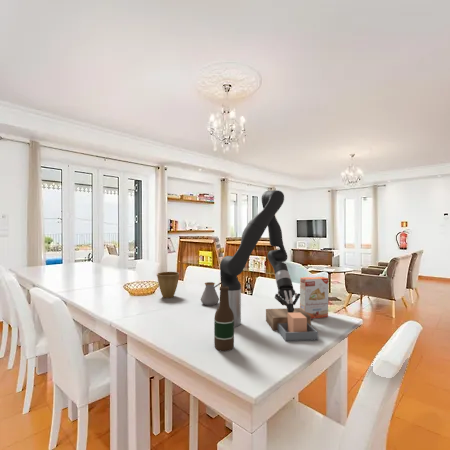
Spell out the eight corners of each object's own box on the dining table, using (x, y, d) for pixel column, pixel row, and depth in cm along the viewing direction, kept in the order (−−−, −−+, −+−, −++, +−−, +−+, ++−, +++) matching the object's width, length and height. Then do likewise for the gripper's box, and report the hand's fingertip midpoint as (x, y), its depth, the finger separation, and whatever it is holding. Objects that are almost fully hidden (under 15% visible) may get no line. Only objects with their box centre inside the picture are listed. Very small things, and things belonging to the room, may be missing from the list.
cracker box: (305, 319, 147) (305, 279, 147) (299, 316, 152) (299, 277, 153) (329, 317, 150) (328, 277, 151) (322, 314, 156) (322, 276, 156)
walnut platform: (273, 330, 131) (273, 317, 131) (265, 320, 145) (265, 309, 145) (310, 329, 133) (310, 316, 133) (300, 319, 147) (300, 308, 147)
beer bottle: (233, 343, 117) (233, 284, 117) (234, 351, 109) (234, 288, 109) (214, 343, 117) (214, 284, 117) (214, 351, 109) (214, 288, 109)
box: (285, 341, 119) (285, 333, 119) (277, 331, 131) (277, 323, 131) (317, 340, 120) (317, 331, 120) (307, 330, 132) (307, 322, 132)
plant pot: (155, 295, 198) (155, 272, 199) (175, 293, 205) (175, 271, 205) (159, 300, 185) (159, 275, 185) (181, 298, 191) (181, 274, 191)
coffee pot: (206, 307, 169) (206, 282, 169) (197, 303, 178) (197, 279, 178) (235, 302, 181) (235, 278, 181) (225, 298, 191) (225, 276, 191)
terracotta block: (287, 330, 130) (293, 337, 122) (287, 312, 130) (293, 318, 122) (300, 329, 131) (306, 336, 123) (300, 312, 131) (306, 317, 123)
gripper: (272, 277, 142) (279, 308, 130) (298, 276, 143) (307, 308, 131) (269, 285, 147) (276, 316, 135) (294, 285, 148) (303, 316, 136)
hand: (291, 312), depth 133 cm, fingers closed
